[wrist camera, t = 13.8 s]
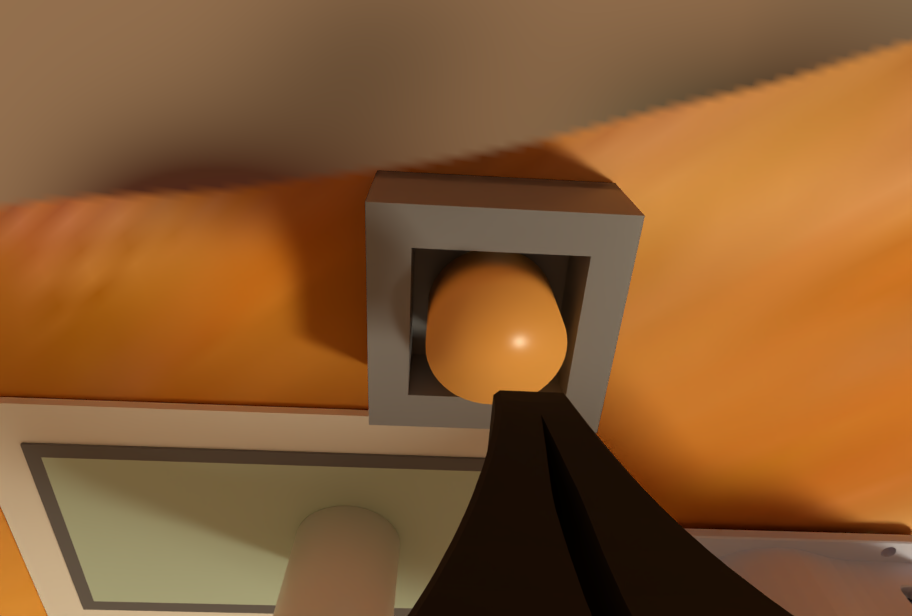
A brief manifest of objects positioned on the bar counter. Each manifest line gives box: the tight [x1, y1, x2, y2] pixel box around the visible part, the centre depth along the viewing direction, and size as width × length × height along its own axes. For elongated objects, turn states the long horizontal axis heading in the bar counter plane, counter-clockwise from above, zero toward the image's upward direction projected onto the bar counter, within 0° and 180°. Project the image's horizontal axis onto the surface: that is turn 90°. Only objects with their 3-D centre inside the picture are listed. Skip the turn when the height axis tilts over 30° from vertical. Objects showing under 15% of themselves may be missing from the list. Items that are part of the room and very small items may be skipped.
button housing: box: [365, 171, 645, 433], centre depth 15 cm, size 6×6×2 cm
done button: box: [426, 251, 567, 404], centre depth 14 cm, size 3×3×2 cm
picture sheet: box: [0, 397, 490, 616], centre depth 20 cm, size 18×11×1 cm, turn 87°
